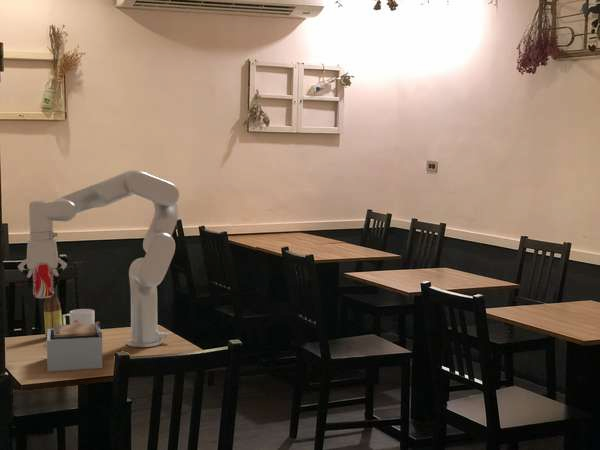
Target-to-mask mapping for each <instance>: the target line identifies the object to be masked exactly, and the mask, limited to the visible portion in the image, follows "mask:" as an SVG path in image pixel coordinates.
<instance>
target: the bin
mask: <svg viewBox="0 0 600 450" xmlns="http://www.w3.org/2000/svg"><path fill="white" fill-rule="evenodd" d="M100 324H101V323H100V321H96V322H95V330H96V335H89V336H71V337H54V329H48V331H47V337H46V350H47V351H46V358H47V359H46V362H47V363H46V364H47V367H46V368H47V370H46V371H47V373H48V372H62V371H75V370H93V369H103V368H104V367H103V332H102V331H101V327H100V326H101V325H100Z"/></svg>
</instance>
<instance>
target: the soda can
mask: <svg viewBox="0 0 600 450" xmlns="http://www.w3.org/2000/svg"><path fill="white" fill-rule="evenodd" d="M32 281H33V289H32V295H33V297H34V298H35V299H46V298H50V297H51V296H53V295H54V273H53V270H52V269H51V267H50V266H48V263H45V264H37V266H36V267H35V268H34V270H33V273H32Z"/></svg>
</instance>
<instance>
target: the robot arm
mask: <svg viewBox="0 0 600 450" xmlns="http://www.w3.org/2000/svg"><path fill="white" fill-rule="evenodd" d="M134 195H136V196H139V197H141V198H144V199H146V200H149V201H151V202H152V204H153V207H154V213H153V217H152V220H151V222H150V225H149V228H148V230H147V232H146V233H145V234H146V235H145V236H144V238H143V241H142V242H143V243H142V248H143V250H144V252H145V254H144V257H139V258H136V259H135V260H133V261H132V262H131V264H130V266H129V269H128V278H129V279H128V280H129V286H130V287H129V288H130V289H129V290H130V339H127V340H126V345H127V346H128V347H132V348H133V347H134V348H152V347H156V346H160V345H161V344H162V343H163V340H162V339H171V335H172V334H171V332H166V331H165V332H163V331H162V332H160V331H159V329H158V288H157V286H159V285H160V284H161V283H162V281H163V280H164V278H165V276H166V274H167V272H168V269H169V267H170V264H171V262H172V260H173V257H174V255H175V251H176V242H175V239H174V237H173V233H174V230H175V227H176V226H177V222H178V217H179V209H178V203H177V202H178V201H179V199H180V190H179V189H178V187H177V186H176V185H175V184H174V183H172V182H170V181H167V180H165V179H162V178H159V177H156V176H154V175H151V174H149V173H147V172H144V171H141V170H135V169H133V170H131V169H130V170H128V171H124V172H122V173H120V174H117V175H115V176H112V177H110V178H108V179H105V180H103V181H100V182H97V183H94V184H91V185H89V186H87V187H85V188H82V189H79V190H76V191H74V192H71V193H69V194H66V195H63V196H60V197H58V198H56V199H54V200H52V201H50V200H32V201H30V202H29V206H28V212H29V213H28V215H29V239H30V240H27V246H26V247H27V248H26V258H25V259H24V260H23V261H21V263H20V264H18V265H17V268H18V269H19V270H20V272H22V274H23V275H25V276H26V278H27V284H28V288H29V287H30V290H33V281H32V273H33V270H34V268H35V267H36V266H37V264H45V263H48V266H50V267H51V269H52V270H53V273H54V288H56V286H59V276H60V275H61V274H62V272H63V271H64V270H65V269H66V268H67V266H68V263H67V262H65V261H64V260H62V259H61V258H60V257H59V255H58V254H59V253H58V245H57V241H56V239H54V238H56V237H58V232H54V223H53V222H63V223H65V222H70V221H72V220H74V218H75V217H76V216H77V214H79V213H82V212H84V211H87V210H90V209H91V210H92V209H96V208H103V207H107V206H109V205H111V204H114V203H116V202H120V201H121V200H124V199H126V198H129V197H132V196H134ZM59 264H60V265H61V266H60V268H59V269H57V268H58V266H59ZM25 265H26V268H27V269H28V270H26V269H25V267H24V266H25Z"/></svg>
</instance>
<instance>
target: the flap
mask: <svg viewBox="0 0 600 450" xmlns="http://www.w3.org/2000/svg"><path fill="white" fill-rule="evenodd" d="M89 335H96V330H95V325H94V323H92V324H72V325H70V324H66V325H63V324H62V325H54V337H71V336H89Z"/></svg>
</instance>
